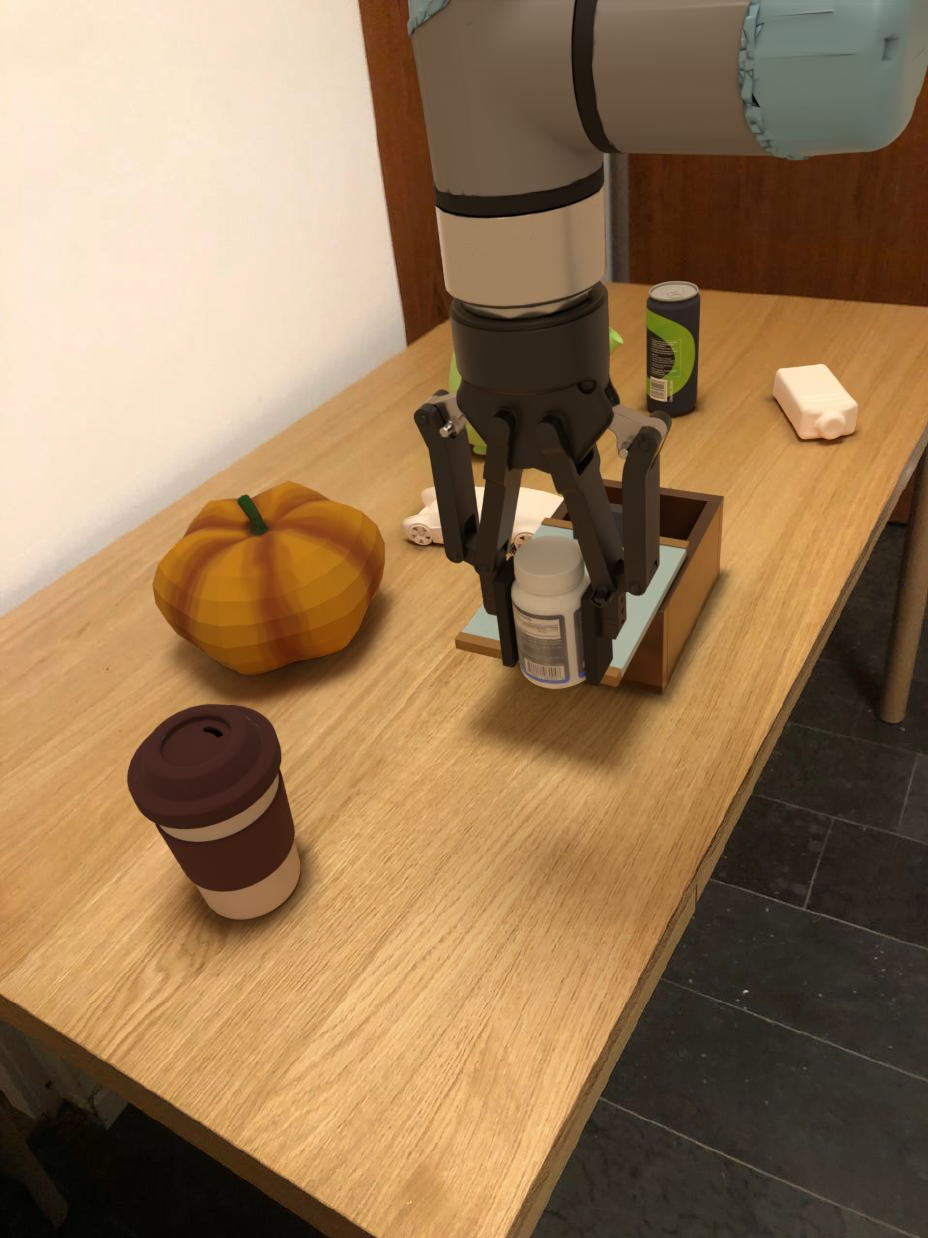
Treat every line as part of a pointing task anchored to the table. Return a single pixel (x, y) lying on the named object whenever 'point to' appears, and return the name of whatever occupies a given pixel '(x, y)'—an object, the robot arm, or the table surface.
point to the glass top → (640, 609)
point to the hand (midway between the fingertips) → (557, 661)
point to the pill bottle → (550, 610)
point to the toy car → (529, 507)
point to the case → (674, 581)
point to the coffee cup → (221, 805)
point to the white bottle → (815, 402)
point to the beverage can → (672, 347)
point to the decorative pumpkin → (271, 578)
